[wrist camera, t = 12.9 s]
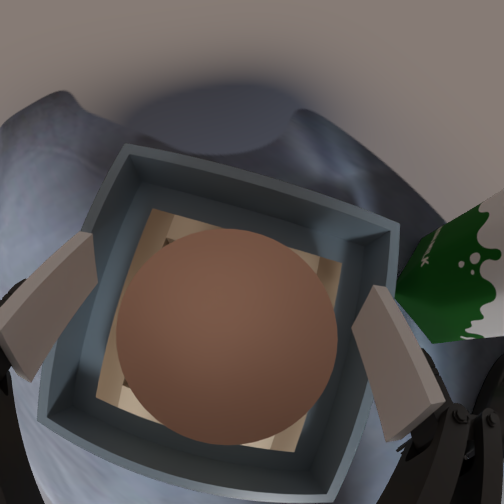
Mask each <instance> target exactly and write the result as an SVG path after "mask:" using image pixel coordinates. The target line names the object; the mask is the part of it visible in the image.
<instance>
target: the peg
mask: <svg viewBox="0 0 504 504" xmlns="http://www.w3.org/2000/svg"><path fill="white" fill-rule="evenodd" d="M337 342H338V337H337V324H336V318H335V313H334V310H333V306H332V303H331V300H330V298H329V296H328V293H327V291H326V289H325V287H324V285H323V284H322V282H321V281H320V279H319V277H318V276H317V275H316V273H315V272H314V271H313V270H312V268H311V267H310V266H309V265H308V264H307V263H306V262H305V261H304V260H303V259H302V258H301V257H300V256H299V255H297V254H296V253H295V252H293V251H292V250H291V249H289V248H288V247H287V246H285V245H283V244H281V243H279V242H278V241H276V240H274V239H271V238H269V237H266V236H264V235H261V234H258V233H254V232H250V231H245V230H238V229H213V230H205V231H201V232H197V233H193V234H190V235H187V236H184V237H182V238H179V239H177V240H175V241H173V242H172V243H170V244H168V245H166V246H165V247H163V248H162V249H160V250H159V251H158V252H156V253H155V254H154V255H153V256H152V257H151V258H150V259H148V260H147V261H146V262H145V263H144V264H143V266H142V267H141V268H140V269H139V271H138V272H137V273H136V274H135V276H134V277H133V279H132V281H131V282H130V284H129V286H128V288H127V290H126V292H125V294H124V297H123V299H122V302H121V305H120V309H119V313H118V318H117V326H116V345H117V352H118V359H119V362H120V365H121V369H122V372H123V375H124V377H125V379H126V381H127V383H128V386H129V387H130V389H131V391H132V392H133V394H134V395H135V397H136V398H137V400H138V401H139V402H140V403H141V405H142V406H143V407H144V408H145V409H146V410H147V411H148V412H149V413H150V414H151V415H152V416H153V417H154V418H155V419H156V420H158V421H159V422H160V423H162V424H163V425H165V426H166V427H167V428H169V429H171V430H173V431H175V432H176V433H178V434H180V435H182V436H185V437H188V438H190V439H193V440H196V441H200V442H204V443H209V444H217V445H241V444H247V443H252V442H257V441H260V440H263V439H266V438H269V437H271V436H274V435H276V434H278V433H280V432H282V431H284V430H285V429H287V428H288V427H290V426H292V425H293V424H294V423H296V422H297V421H298V420H299V419H301V418H302V417H303V416H304V415H305V414H306V413H307V412H308V411H309V410H310V409H311V408H312V407H313V405H314V404H315V403H316V401H317V400H318V399H319V397H320V396H321V394H322V393H323V391H324V389H325V387H326V385H327V383H328V381H329V379H330V376H331V373H332V371H333V368H334V363H335V359H336V354H337Z"/></svg>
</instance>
